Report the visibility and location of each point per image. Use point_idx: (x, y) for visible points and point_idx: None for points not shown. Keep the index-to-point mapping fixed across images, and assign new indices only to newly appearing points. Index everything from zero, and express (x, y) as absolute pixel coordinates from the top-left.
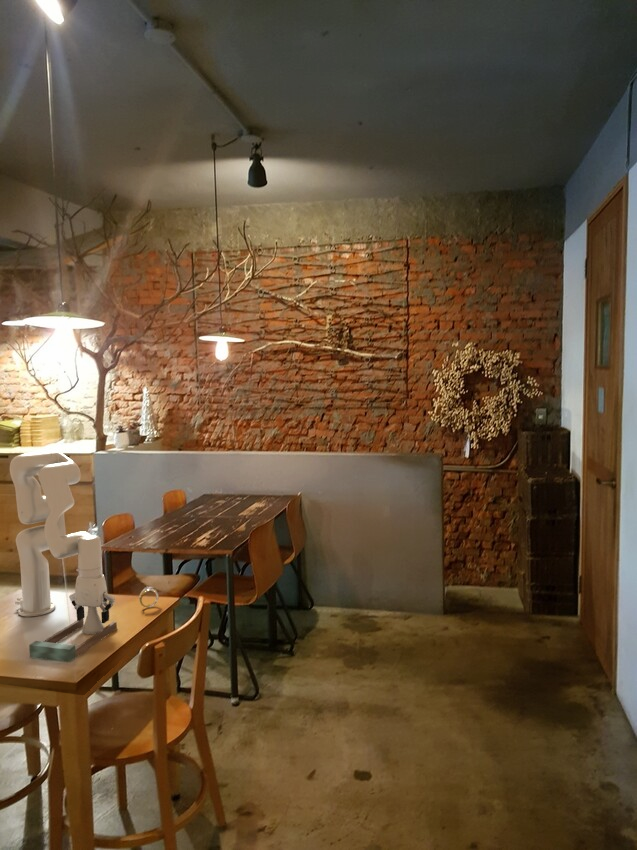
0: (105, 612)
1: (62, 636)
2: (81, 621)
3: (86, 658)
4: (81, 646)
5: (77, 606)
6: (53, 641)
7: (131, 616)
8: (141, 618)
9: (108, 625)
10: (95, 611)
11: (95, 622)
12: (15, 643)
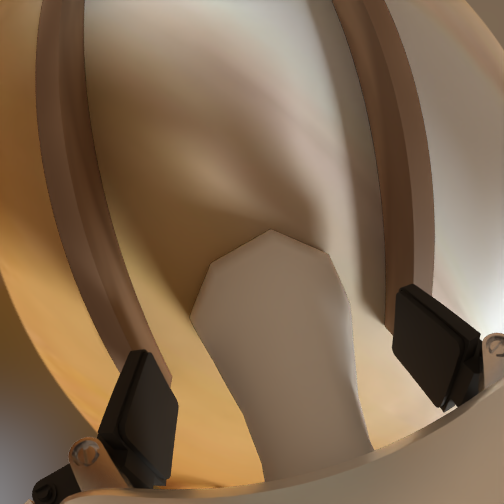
0: (103, 439)
1: (375, 108)
2: None
3: (19, 36)
4: (41, 20)
5: (497, 366)
6: (351, 19)
7: (223, 465)
8: None
9: None
10: (252, 436)
11: (224, 340)
12: (484, 40)
